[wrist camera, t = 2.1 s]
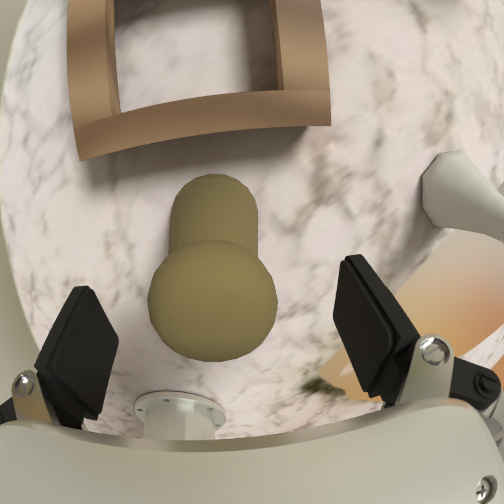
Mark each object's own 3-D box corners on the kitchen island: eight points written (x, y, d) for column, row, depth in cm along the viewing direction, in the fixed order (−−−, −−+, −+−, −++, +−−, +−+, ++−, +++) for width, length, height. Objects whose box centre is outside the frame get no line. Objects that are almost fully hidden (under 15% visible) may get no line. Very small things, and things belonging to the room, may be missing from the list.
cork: (156, 196, 18) (96, 300, 8) (238, 159, 17) (263, 231, 8) (195, 265, 21) (184, 392, 11) (269, 235, 20) (312, 354, 11)
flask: (472, 201, 21) (541, 248, 12) (427, 236, 22) (496, 299, 13) (461, 137, 17) (547, 172, 8) (410, 170, 18) (503, 221, 10)
